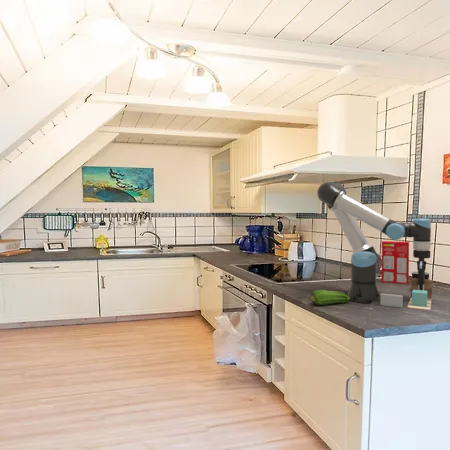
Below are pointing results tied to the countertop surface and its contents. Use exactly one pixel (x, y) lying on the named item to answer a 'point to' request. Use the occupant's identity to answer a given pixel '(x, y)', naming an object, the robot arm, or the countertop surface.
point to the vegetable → (328, 297)
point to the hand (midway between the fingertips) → (421, 296)
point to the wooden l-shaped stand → (426, 288)
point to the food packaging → (395, 262)
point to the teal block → (419, 298)
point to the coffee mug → (415, 275)
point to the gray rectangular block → (391, 300)
